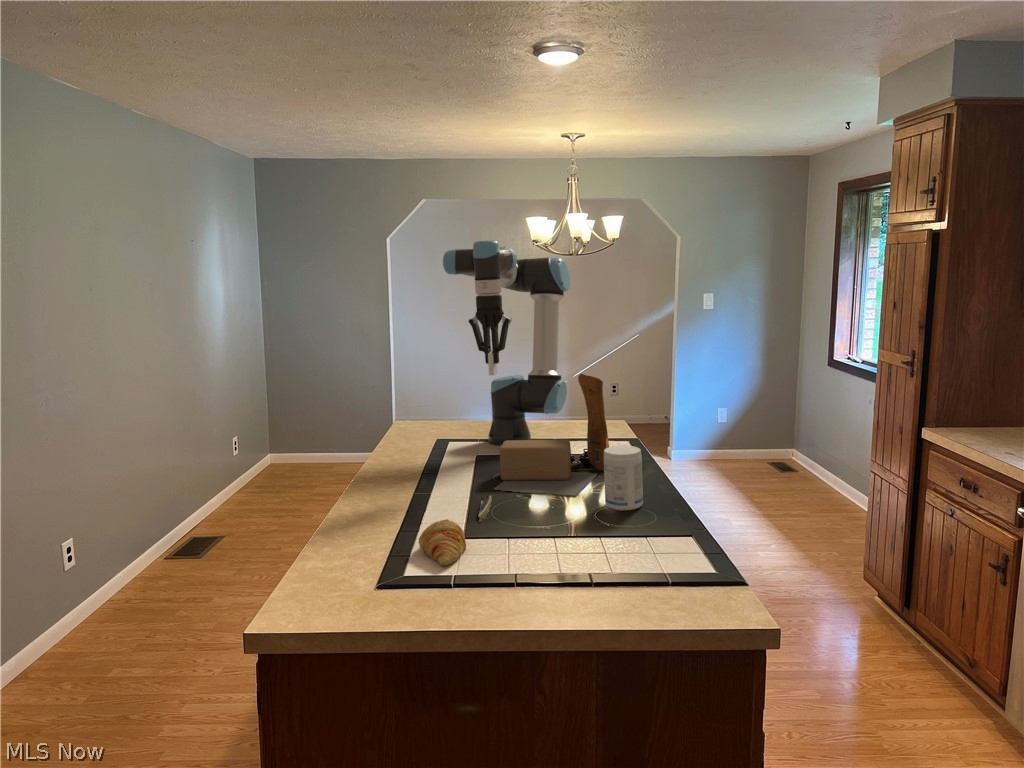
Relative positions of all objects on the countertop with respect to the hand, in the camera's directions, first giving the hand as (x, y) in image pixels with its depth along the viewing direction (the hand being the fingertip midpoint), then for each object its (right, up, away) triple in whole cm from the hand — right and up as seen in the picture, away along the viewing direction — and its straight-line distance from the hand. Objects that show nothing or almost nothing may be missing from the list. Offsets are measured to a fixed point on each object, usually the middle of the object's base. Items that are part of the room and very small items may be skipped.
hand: (493, 374), depth 222 cm
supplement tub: (+34, -34, -31) cm, 57 cm away
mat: (+16, -31, -8) cm, 36 cm away
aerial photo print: (+6, -36, -30) cm, 47 cm away
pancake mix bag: (+32, -28, +9) cm, 43 cm away
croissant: (-10, -40, -57) cm, 70 cm away
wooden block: (+3, -25, -2) cm, 25 cm away
